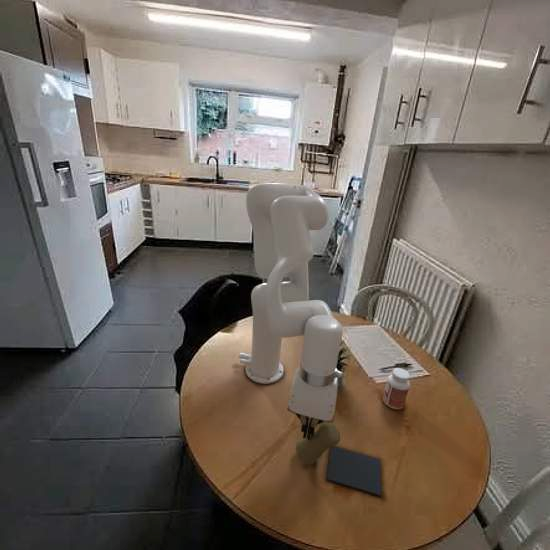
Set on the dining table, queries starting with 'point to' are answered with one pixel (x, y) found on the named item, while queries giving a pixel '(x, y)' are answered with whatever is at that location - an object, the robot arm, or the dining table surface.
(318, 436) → the olive green waisted cylinder
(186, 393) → the dining table surface
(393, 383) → the pill bottle
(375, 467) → the mat
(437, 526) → the dining table surface
